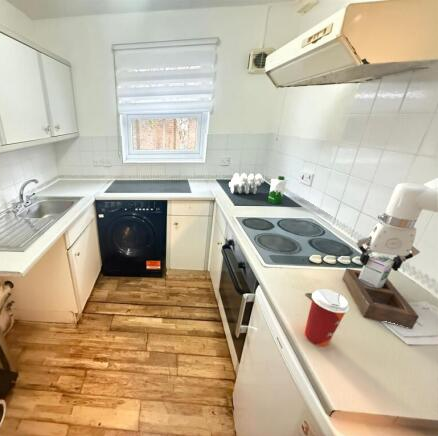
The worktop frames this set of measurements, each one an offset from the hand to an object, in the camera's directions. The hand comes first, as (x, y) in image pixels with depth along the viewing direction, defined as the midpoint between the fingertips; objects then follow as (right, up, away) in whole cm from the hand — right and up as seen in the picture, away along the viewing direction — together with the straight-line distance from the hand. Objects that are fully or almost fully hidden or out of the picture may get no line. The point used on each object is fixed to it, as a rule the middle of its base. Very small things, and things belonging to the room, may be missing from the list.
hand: (377, 265), depth 84 cm
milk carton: (+16, +29, +98) cm, 104 cm away
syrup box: (0, -11, +5) cm, 12 cm away
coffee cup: (-32, -19, -14) cm, 40 cm away
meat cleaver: (-23, -13, -2) cm, 27 cm away
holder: (-2, -12, 0) cm, 12 cm away
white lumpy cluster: (+1, +38, +121) cm, 127 cm away
